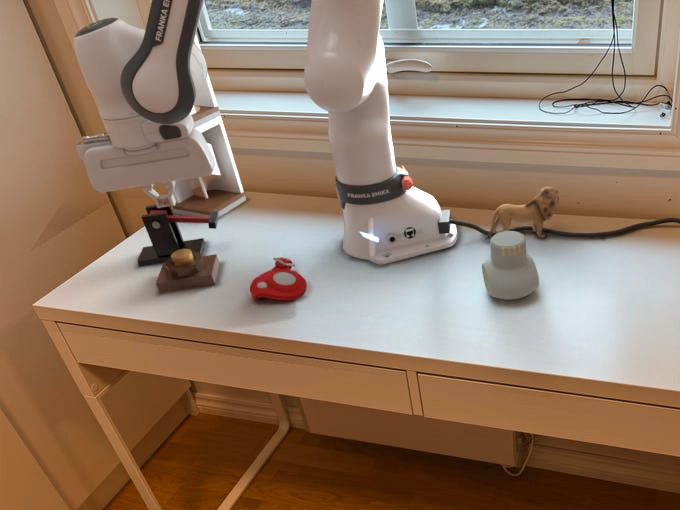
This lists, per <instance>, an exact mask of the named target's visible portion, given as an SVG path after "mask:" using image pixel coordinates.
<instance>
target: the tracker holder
mask: <svg viewBox="0 0 680 510" xmlns="http://www.w3.org/2000/svg"><path fill="white" fill-rule="evenodd" d="M272 259H273V261H275V262H274V266H273V267H272V268H271V269H269V270H267V271H264V272H263V273H261V274H259V275H258V276H256V277H255V278H254V279H252V280H251V283H250V285H249V294H250V295H251V297H252V298H253V300H259V299H261V298H267V299H272V300H277V301H287V302H288V301H295V300H297V299H300V298H301V297H303V296H304V295H305V293H306V292H307V285H308V283H307V281H306V279H305V277H304V276H303V275H301V274H300V273H299V272H297V271H295V270H293V269H292V267H296V264H295V263H294V262H293V261H292V260H291V259H290V258H289V257H282V256H281V257H273V258H272Z"/></svg>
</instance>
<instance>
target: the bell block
mask: <svg viewBox="0 0 680 510" xmlns="http://www.w3.org/2000/svg"><path fill="white" fill-rule="evenodd" d="M191 252H192V254H193V257H194V261H192V262H191V263H189V264H186V265H182V266H175V265H174V262H173V260H172V257H171V258H169V259H168V260H167V261H166V262H163V263H162V265H161V267H160V270H159V273H158V276H157V279H156V281H155V286H156V288H157V290H158V293H159V294H165V293H166V294H167V293H172V292H178V291H184V290H185V291H186V290H191V289H192V290H193V289H197V288H205V287H209V286H215V285H216V284H217V280H218V279H217V278H218V274H219V271H220V266H221V263H220V260H219V257H218V254H216V253H215V254H209V255H203V254H202V255H201V254H200V253H199V252H194V251H191Z"/></svg>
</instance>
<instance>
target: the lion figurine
mask: <svg viewBox="0 0 680 510" xmlns="http://www.w3.org/2000/svg"><path fill="white" fill-rule="evenodd" d="M558 193H559V189H558V188H556V187H553V186H550V185H549V186H544V187H542V188H541V189H539V193H538V194H537V195H536V196H535V197H533V199H532V200H530V201H529V202H528V203H526V204H511V203H504V204H501V205H499V206H498V207H497V208H496V209H495V210H494V212H493V215H492V218H491V223H490V230H489V231H490V232H489V234H488V235H486V236H485V239H486V240H489V239H491V238H492V236H491V235H492V232H493V233H496V234H497V233H498V231H499V230H497V229H498V228H499V226H501V225H502V231H508V230H509V229H510V227H511V224H512V221H514V222H515V223H517V224H522V225H526V224H532V226H533V227H532V228H533V229H534V230H533V232H534V233H536V234H537V237H538V238H540V239H544V238H545V237H546V234H545V233H544V232H542V229H543V228H544V222H545V221H547V220H550V219H551V218H552V217H553V215H554V213H555V212H556V210H557V209H558V206H559V203H560V197H559V194H558Z"/></svg>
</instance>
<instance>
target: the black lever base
mask: <svg viewBox="0 0 680 510" xmlns="http://www.w3.org/2000/svg"><path fill="white" fill-rule="evenodd" d="M151 210H163V211H167V213H166V212H161V213H154V214H150V212H151ZM145 211H146V212H147V213H146V214H142V215H141V220H142V222H143V225H144V227H145V230H146V233H147V235H148V237H149V240H150V242H151V245H148V246H142V249H141V251H140V253H139V256H138V258H137V261H136V262H137V264H138V266H139V267H146V266H152V265H158V264H163V262H166V261H167V260H168V259H169V258H171V255H172V253H174V252H175V251H177V250H181V249H190V250H191V251H194V252H199V253H200V254H201V255H202V256H203V253H204V250H205V246H206V241H205V238H203V237H201V238H195V239H189V240H184V238H183V236H182V233H181V229H180V227H179V225H178V222H170V221H169V219H168V216H167V215H175V213H174V210H173V207H172V206H169V207H163V208H157V206H156V204H153V205H146V206H145Z"/></svg>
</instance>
